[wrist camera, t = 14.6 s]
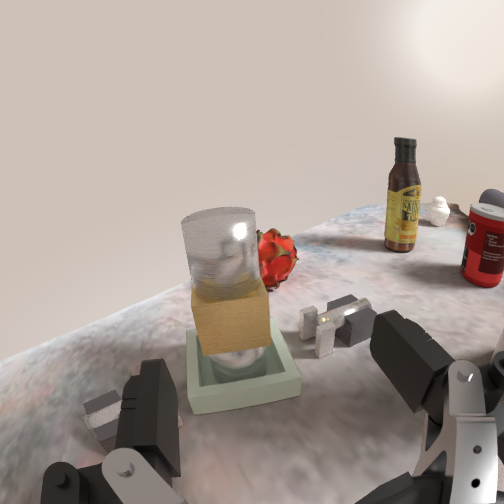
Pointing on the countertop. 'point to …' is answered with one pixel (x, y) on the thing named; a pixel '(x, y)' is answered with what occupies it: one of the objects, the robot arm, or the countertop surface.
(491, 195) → the bluetooth speaker
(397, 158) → the sauce bottle
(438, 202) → the muffin
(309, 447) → the countertop surface
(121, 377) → the countertop surface
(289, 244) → the dragon fruit
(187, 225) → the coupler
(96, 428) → the shaft
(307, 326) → the shaft
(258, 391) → the mint green tray
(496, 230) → the canned food
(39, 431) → the countertop surface
